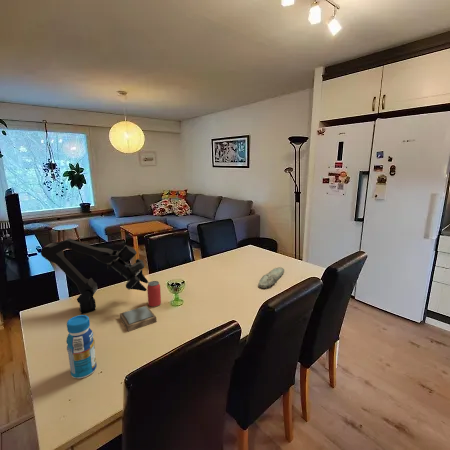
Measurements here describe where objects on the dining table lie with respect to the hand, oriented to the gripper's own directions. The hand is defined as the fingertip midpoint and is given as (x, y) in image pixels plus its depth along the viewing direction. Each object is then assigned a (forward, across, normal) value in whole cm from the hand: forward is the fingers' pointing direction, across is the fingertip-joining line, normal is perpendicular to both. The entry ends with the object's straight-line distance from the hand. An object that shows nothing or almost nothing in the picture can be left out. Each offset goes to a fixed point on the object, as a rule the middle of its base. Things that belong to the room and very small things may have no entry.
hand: (147, 286), depth 138 cm
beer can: (+10, 0, +5) cm, 11 cm away
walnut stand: (+5, -14, +10) cm, 18 cm away
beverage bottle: (-5, -44, +20) cm, 49 cm away
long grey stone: (+62, +21, -46) cm, 80 cm away
